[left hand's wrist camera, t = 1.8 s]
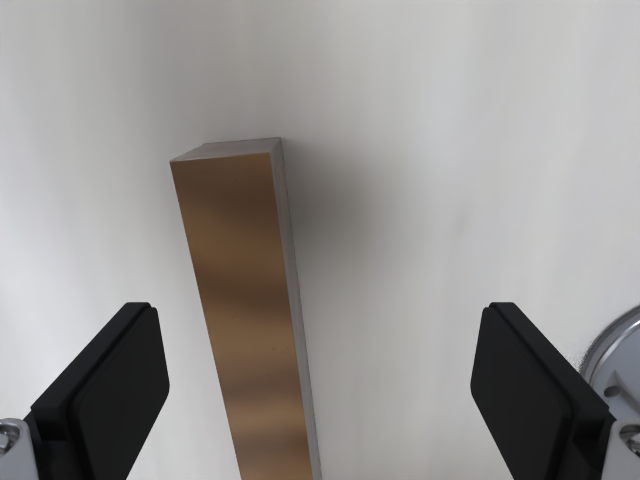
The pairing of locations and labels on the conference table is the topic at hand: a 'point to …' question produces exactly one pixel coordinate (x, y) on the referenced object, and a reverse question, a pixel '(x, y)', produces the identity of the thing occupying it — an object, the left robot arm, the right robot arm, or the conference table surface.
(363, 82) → the conference table surface
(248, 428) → the post
